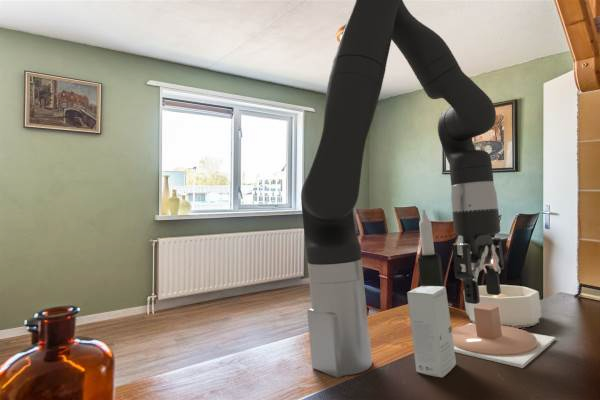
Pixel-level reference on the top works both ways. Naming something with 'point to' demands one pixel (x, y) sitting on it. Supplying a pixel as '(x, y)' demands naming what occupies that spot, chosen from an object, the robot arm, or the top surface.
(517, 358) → the mat
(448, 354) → the skincare box
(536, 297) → the bowl
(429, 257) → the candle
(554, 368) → the top surface
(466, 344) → the lid
